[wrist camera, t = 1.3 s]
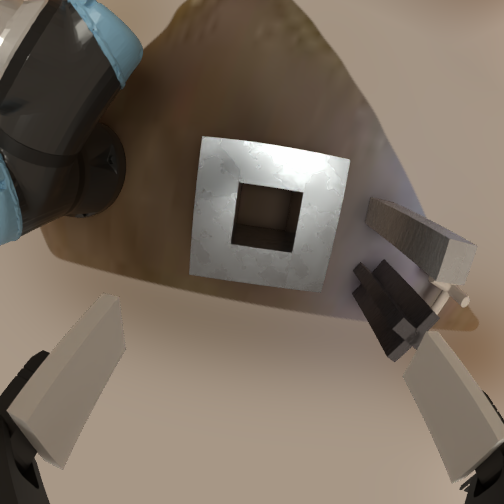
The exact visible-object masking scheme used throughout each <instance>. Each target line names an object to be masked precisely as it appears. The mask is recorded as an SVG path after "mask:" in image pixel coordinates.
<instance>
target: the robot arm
mask: <svg viewBox="0 0 504 504" xmlns="http://www.w3.org/2000/svg"><path fill="white" fill-rule="evenodd" d="M142 56H143V48H142V45H141V43H140V41H139V39H138V38H137V36H136V35H135V34H134V33H133V32H132V31H131V30H130V28H129V27H128V26H127V25H126V24H125V23H124V22H123V21H122V20H120V19H119V18H118V17H117V16H116V15H115V14H114V13H113V12H111V11H110V10H109V9H108V8H107V7H105V6H104V5H102V4H101V3H98V2H97V1H96V0H28V1H23V0H0V245H3V244H5V243H8V242H10V241H16V240H18V239H19V238H20V237H21V236H22V235H24V234H26V233H28V232H30V231H32V230H34V229H36V228H38V227H41V226H43V225H45V224H47V223H49V222H51V221H53V220H56V219H58V218H60V217H62V216H69V217H78V218H84V217H90V216H93V215H95V214H97V213H100V212H102V211H104V210H105V209H107V208H108V207H109V206H110V205H111V204H112V203H113V202H114V201H115V199H116V198H117V196H118V195H119V193H120V191H121V188H122V186H123V182H124V178H125V171H126V161H125V154H124V150H123V147H122V144H121V142H120V140H119V138H118V137H117V135H116V134H115V133H114V132H113V131H112V130H111V129H110V128H109V127H107V126H106V125H104V124H102V123H99V122H98V121H99V120H100V118H101V117H102V115H103V114H104V112H105V111H106V109H107V108H108V106H109V105H110V103H111V102H112V101H113V99H114V98H115V96H116V95H117V94H118V92H119V91H120V89H121V90H122V89H123V88H124V87H125V82H126V81H127V79H128V78H129V76H130V75H131V74H132V72H133V71H134V69H135V68H136V67H137V65H138V64H139V63H140V61H141V59H142ZM125 350H126V347H125V340H124V333H123V324H122V318H121V307H120V297H119V296H115V295H111V294H106V293H103V294H102V295H101V296H100V297H99V298H98V299H97V300H96V301H95V302H94V303H93V305H92V306H91V307H90V308H89V309H88V310H87V311H86V312H85V313H84V314H83V316H82V317H81V318H80V319H79V320H78V321H77V322H76V323H75V325H74V326H73V327H72V328H71V329H70V330H69V331H68V333H67V334H66V335H65V336H64V337H63V338H62V340H61V341H60V342H59V343H58V344H57V346H56V347H55V348H54V349H53V351H52V352H51V353H49V352H46V351H44V350H43V351H41V352H39V353H38V354H36V355H34V356H33V357H31V358H30V360H29V361H28V362H27V363H26V364H25V365H24V368H23V369H21V370H20V372H19V373H18V374H17V376H16V377H15V378H14V379H13V380H12V382H11V383H10V384H9V385H8V387H7V388H6V389H5V390H4V392H3V393H2V395H1V396H0V504H50V503H49V500H48V497H47V495H46V492H45V489H44V486H43V482H42V479H41V476H40V473H39V469H38V466H37V463H36V460H35V458H34V457H35V455H36V453H38V454H39V455H40V456H41V457H42V458H43V460H44V461H46V462H48V463H50V464H52V465H54V466H56V467H58V468H60V469H62V470H63V469H64V466H65V464H66V462H67V460H68V458H69V456H70V454H71V452H72V449H73V447H74V445H75V443H76V441H77V439H78V437H79V435H80V433H81V431H82V429H83V427H84V425H85V423H86V421H87V419H88V417H89V415H90V413H91V411H92V410H93V408H94V406H95V404H96V402H97V400H98V398H99V396H100V394H101V393H102V391H103V389H104V387H105V385H106V383H107V382H108V380H109V378H110V376H111V374H112V373H113V371H114V369H115V367H116V366H117V364H118V362H119V360H120V358H121V357H122V355H123V353H124V351H125ZM403 378H404V380H405V382H406V384H407V386H408V387H409V390H410V392H411V393H412V396H413V398H414V400H415V402H416V404H417V406H418V408H419V410H420V412H421V414H422V416H423V418H424V420H425V422H426V424H427V427H428V429H429V431H430V433H431V435H432V437H433V440H434V442H435V444H436V446H437V448H438V451H439V453H440V456H441V458H442V460H443V463H444V465H445V468H446V470H447V472H448V475H449V477H450V480H451V483H454V482H457V481H459V480H461V479H463V478H465V477H467V476H468V475H469V474H470V473H471V472H472V471H474V470H475V471H476V474H475V475H473V476H472V477H471V478H470V479H469V480H467V481H466V482H465V483H464V484H463V485H461V487H460V490H462V489H463V488H464V487H466V486H467V485H468V484H470V486H468V487H467V488H466V489H465V490H464V491H466V492H468V494H467V497H466V501H465V504H504V420H503V418H502V416H501V415H500V413H499V412H497V409H496V407H495V405H493V402H492V401H491V400H490V398H489V397H488V395H487V394H486V393H485V392H484V391H482V390H481V389H480V387H479V386H478V384H477V383H476V381H475V380H474V379H473V377H472V376H471V374H470V373H469V372H468V370H467V369H466V368H465V366H464V365H463V364H462V362H461V361H460V359H459V358H458V357H457V355H456V354H455V353H454V351H453V350H452V349H451V348H450V346H449V345H448V344H447V342H446V341H445V340H444V339H443V338H442V336H441V335H440V334H439V332H434V331H432V332H430V331H426V333H425V335H424V337H423V339H422V341H421V343H420V345H419V347H418V349H417V351H416V353H415V355H414V357H413V359H412V360H411V362H410V364H409V366H408V368H407V369H406V371H405V373H404V375H403Z"/></svg>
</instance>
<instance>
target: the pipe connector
mask: <svg viewBox="0 0 504 504" xmlns="http://www.w3.org/2000/svg"><path fill="white" fill-rule="evenodd" d="M429 282H431V283H432V284H434V285H435V286H437V287H439V288H440V289H442V291H441V293H440V294H439V296H438V297H437V299H436V300H435V302H434V303H433V305H432V306H431V309H432V310H433V311H434V312H435V313H436V314H438V313H439V312H440V310H441V309H442V307H443V306H444V304H445V303H446V301H447V300H448V298H449V297H450V296H451V297H452V298H453V299H454V300H455V301H457V302H458V303H459V304H460V305H461V306H462V307H466V306H467V305H468V303H469V301H470V298H469V297H468V295H467V293H465V292H464V291H462V290H461V289H460V288H458V287H457V284H451V283H444V282H436V281H435V280H434V279H433V278H431V277H430V276H429Z"/></svg>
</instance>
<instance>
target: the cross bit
mask: <svg viewBox="0 0 504 504" xmlns="http://www.w3.org/2000/svg"><path fill="white" fill-rule="evenodd" d="M353 272H354V273H355V274H356V276H357V277H358V279H359V280H360V281H361V283H362V284H361V285H360V286H359V287H358V288H357V289H356V290H355V291H354V292H353V293H352V294H353V296H354V298H355V299H356V301H357V303H358V305H359V306H360V308H361V310H362V312H363V313H364V315H365V317H366V319H367V320H368V322H369V324H370V326H371V328H372V329H373V331H374V333H375V335H376V337H377V339H378V340H379V342H380V344H381V346H382V348H383V350H384V351H385V354H386V355H387V357H388V358H390V359H391V360H392V361H394V362H395V361H397V360H398V359H399V358H400V357H401V356H402V355H403V354H404V353H406V351H408V350H409V349H410V348H411V347H412V346H413V347H414V348H415V349H416V350H417V349H418V347H419V345H420V343H421V341H422V339H423V337H424V335H425V333H426V331H428V330H429V329H430V328H431V327H432V326H433V325H434V324H435V323H436V322H437V321H438V320H439V319H440V318H439V317H438V316H437V314H436V313H435V312H434V311H433V310H432V309H431V308H430V307H429V305H428V304H427V303H426V302H425V301H424V300H423V299H422V298H421V297H420V296H419V295H418V294H417V293H416V291H415V290H414V289H413V288H412V287H411V286H410V285H409V284H408V283H407V282H406V281H405V280H404V279H403V278H402V277H401V276H400V275H399V274H398V273H397V272H396V271H395V270H394V269H393V268H392V267H391V266H390V265H389V264H388V263H387V262H386V261H385V260H383V261H382V262H381V263H380V264H379V265H378V267H377V268H376V269H375V270H374V271H373V272H371V271H370V270H369V269H367V268H366V267H365V266H364V265H363V264H362V263H361V262H360V263H359V265H358V266H357V267H356V268H355V269H354V270H353Z"/></svg>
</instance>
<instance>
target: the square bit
mask: <svg viewBox="0 0 504 504" xmlns="http://www.w3.org/2000/svg"><path fill="white" fill-rule="evenodd" d="M365 224H367V225H368V226H369V227H371V228H372V229H373V230H375V231H376V232H377V233H378V234H380V235H381V236H382V237H384V238H385V239H386V240H387V241H389V242H390V243H391V244H392V245H394V246H395V247H396V248H397V249H399V250H400V251H401V252H402V253H403V254H405V255H406V256H407V257H408V258H409V259H411V260H412V261H413V262H414V263H415V264H416V265H418V266H419V267H420V268H421V269H422V270H423V271H425V272H426V273H427V274H428V275H429V276H430V277H431V278H433V279H434V280H435V281H436V282H444V283H451V284H459V285H464V284H465V281H466V278H467V276H468V273H469V270H470V267H471V265H472V262H473V259H474V255H475V252H476V249H477V245H475V244H473V243H471V242H470V241H468V240H466V239H465V238H463V237H461V236H459V235H457V234H455V233H453V232H452V231H450V230H448V229H446V228H444V227H442V226H441V225H439V224H437V223H435V222H433V221H431V220H429V219H427V218H425V217H423V216H421V215H419V214H417V213H415V212H413V211H411V210H409V209H406V208H404V207H402V206H400V205H398V204H396V203H394V202H390V201H386V200H381V199H377V198H373V197H371V198H370V203H369V207H368V212H367V216H366V220H365Z"/></svg>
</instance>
